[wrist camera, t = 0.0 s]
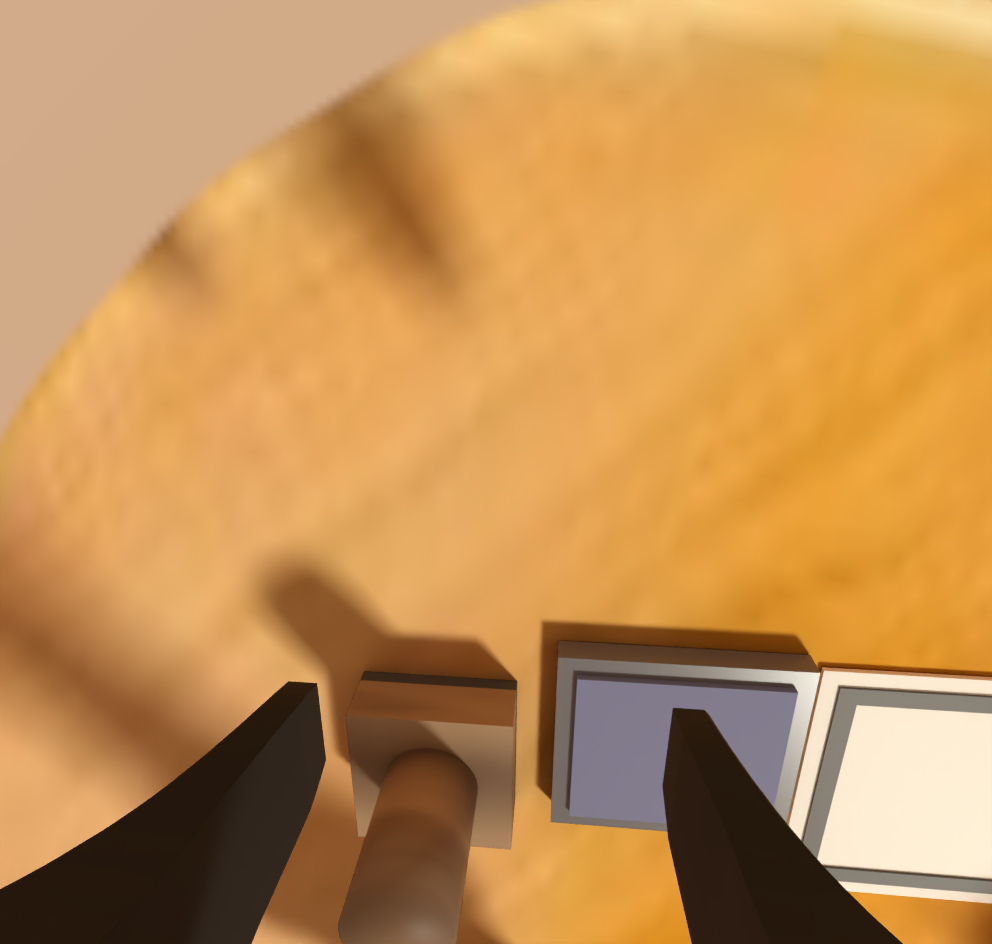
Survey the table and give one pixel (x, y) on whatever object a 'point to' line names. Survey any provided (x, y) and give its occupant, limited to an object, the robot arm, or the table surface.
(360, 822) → the stamp
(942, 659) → the table surface
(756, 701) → the ink pad
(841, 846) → the print sheet
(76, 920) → the robot arm
